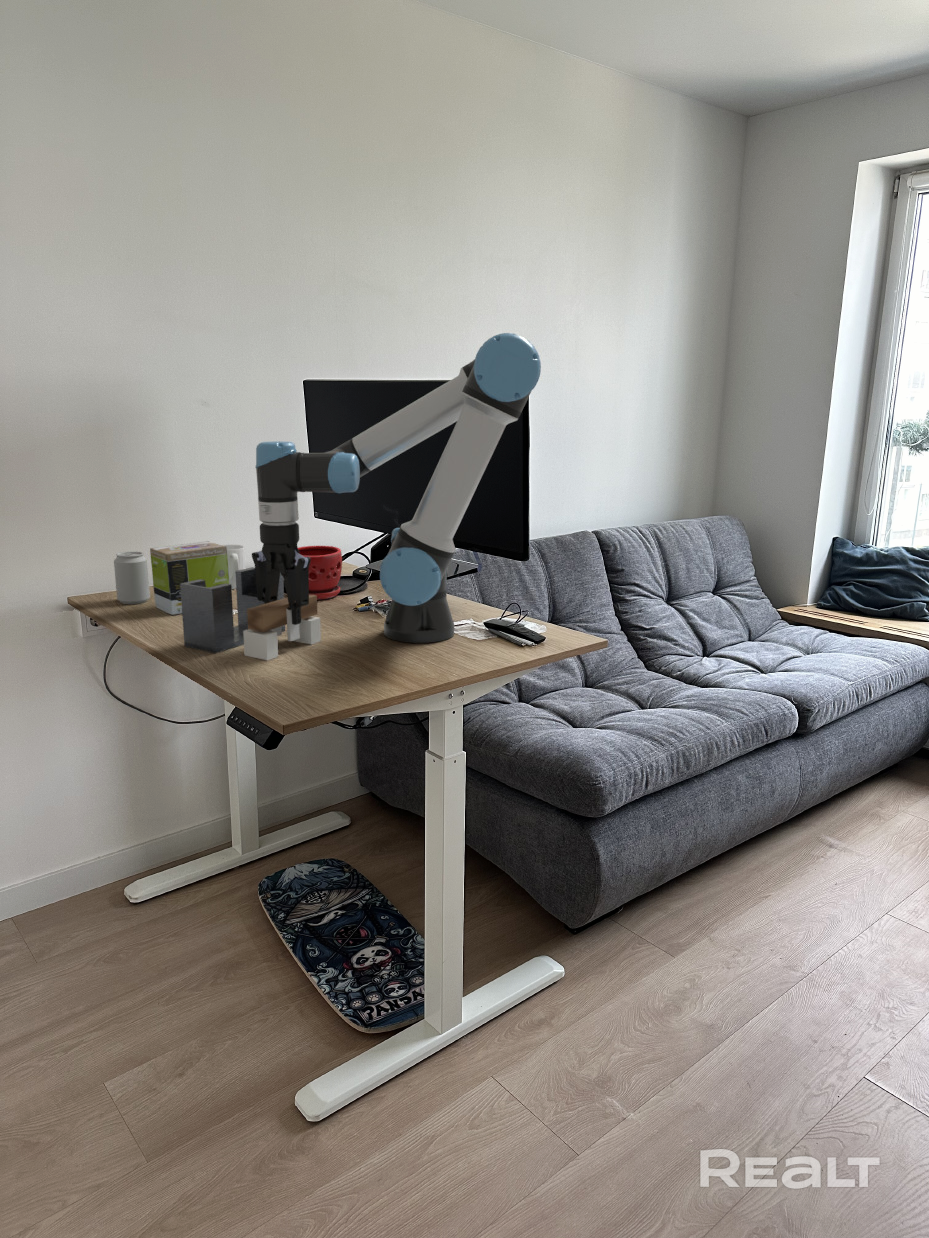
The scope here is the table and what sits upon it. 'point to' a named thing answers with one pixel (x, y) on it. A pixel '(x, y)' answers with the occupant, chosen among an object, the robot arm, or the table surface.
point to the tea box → (186, 570)
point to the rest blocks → (266, 642)
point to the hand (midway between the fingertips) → (284, 637)
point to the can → (131, 577)
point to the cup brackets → (219, 611)
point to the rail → (276, 614)
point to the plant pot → (323, 570)
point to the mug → (235, 561)
